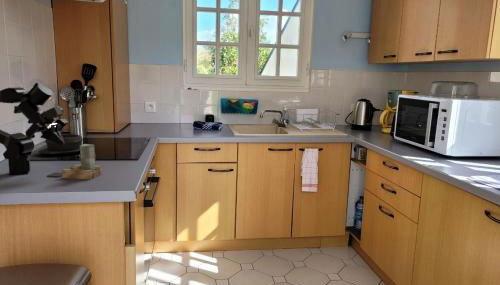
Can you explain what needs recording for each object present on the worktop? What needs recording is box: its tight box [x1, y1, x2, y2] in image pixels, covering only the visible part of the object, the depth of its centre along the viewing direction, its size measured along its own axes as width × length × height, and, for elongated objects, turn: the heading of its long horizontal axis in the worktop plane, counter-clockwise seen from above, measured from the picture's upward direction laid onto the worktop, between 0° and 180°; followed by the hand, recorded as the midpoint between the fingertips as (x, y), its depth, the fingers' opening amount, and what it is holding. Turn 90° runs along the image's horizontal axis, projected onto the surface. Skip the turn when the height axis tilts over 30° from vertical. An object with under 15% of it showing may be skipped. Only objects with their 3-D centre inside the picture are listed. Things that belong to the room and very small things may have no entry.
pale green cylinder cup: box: [79, 143, 101, 179], centre depth 144 cm, size 7×5×12 cm
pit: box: [46, 172, 62, 178], centre depth 145 cm, size 5×5×1 cm
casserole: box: [37, 133, 84, 156], centre depth 189 cm, size 25×19×8 cm
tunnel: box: [61, 163, 102, 180], centre depth 145 cm, size 11×8×4 cm
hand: (63, 144), depth 144 cm, fingers closed
